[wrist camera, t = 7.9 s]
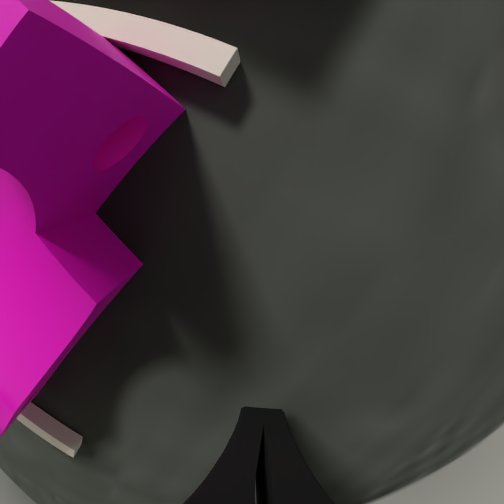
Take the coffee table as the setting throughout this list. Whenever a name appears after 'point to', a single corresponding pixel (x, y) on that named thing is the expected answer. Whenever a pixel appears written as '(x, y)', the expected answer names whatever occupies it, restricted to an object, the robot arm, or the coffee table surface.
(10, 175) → the toy block
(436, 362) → the coffee table surface
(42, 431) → the frame
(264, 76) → the coffee table surface
